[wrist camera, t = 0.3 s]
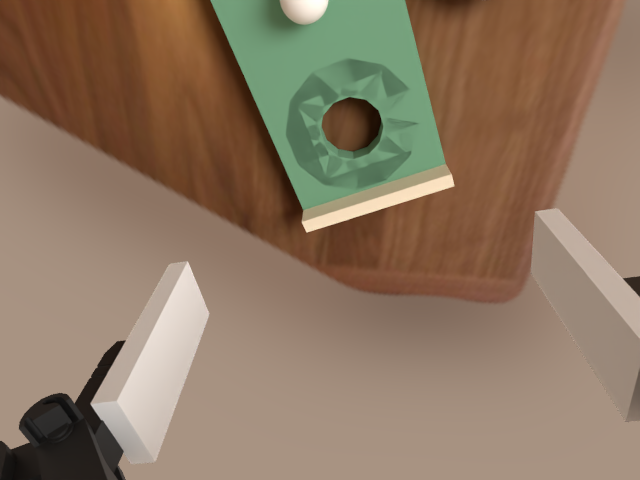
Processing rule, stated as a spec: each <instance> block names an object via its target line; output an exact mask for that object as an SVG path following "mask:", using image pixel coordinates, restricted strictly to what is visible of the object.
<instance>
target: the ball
mask: <svg viewBox="0 0 640 480" xmlns="http://www.w3.org/2000/svg"><path fill="white" fill-rule="evenodd" d="M280 4H281V8H282V10H283V12H284V13H285V15H286V16H287V17H288V18H289V19H290V20H291V21H293V22H295V23H297V24H302V25H307V24H311V23H314V22H316V21H317V20H319V19H320V18H321V17H322V16H323V14H324V13H325V11H326V9H327V6H328V0H280Z"/></svg>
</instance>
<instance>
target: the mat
mask: <svg viewBox="0 0 640 480" xmlns="http://www.w3.org/2000/svg"><path fill="white" fill-rule="evenodd" d="M211 3H212V5H213V7H214V9H215V12H216V14H217V16H218V18H219V21H220V23H221V25H222V27H223V30H224V32H225V34H226V36H227V39H228V41H229V43H230V46H231V48H232V50H233V52H234V55H235V57H236V59H237V61H238V64H239V66H240V68H241V70H242V73H243V75H244V77H245V79H246V82H247V84H248V86H249V88H250V91H251V93H252V95H253V97H254V100H255V102H256V104H257V106H258V109H259V111H260V113H261V115H262V118H263V120H264V122H265V124H266V127H267V129H268V131H269V134H270V136H271V138H272V140H273V143H274V145H275V147H276V149H277V152H278V154H279V156H280V158H281V161H282V163H283V165H284V167H285V170H286V172H287V174H288V176H289V179H290V181H291V183H292V185H293V188H294V190H295V192H296V194H297V197H298V199H299V201H300V203H301V206H302V208H303V217H302V224H303V226H304V228H305V230H306V232H310V231H313V230H316V229H319V228H322V227H326V226H329V225H332V224H335V223H338V222H342V221H345V220H348V219H351V218H354V217H357V216H361V215H364V214H367V213H370V212H373V211H377V210H380V209H383V208H386V207H389V206H392V205H396V204H399V203H402V202H405V201H408V200H412V199H415V198H418V197H421V196H424V195H427V194H431V193H434V192H437V191H440V190H443V189H447V188H450V187H453V186H454V182H453V178H452V174H451V172H450V171H449V169H448V167H447V165H446V163H445V159H444V155H443V151H442V147H441V143H440V139H439V135H438V131H437V127H436V123H435V119H434V115H433V111H432V107H431V103H430V99H429V95H428V91H427V87H426V83H425V79H424V75H423V71H422V67H421V63H420V59H419V55H418V51H417V47H416V43H415V39H414V35H413V31H412V27H411V23H410V19H409V15H408V11H407V7H406V3H405V0H328V6H327V9H326V11H325V13H324V14H323V16H322V17H321V18H320V19H319V20H317V21H316V22H314V23H311V24H307V25H302V24H297V23H295V22H293V21H291V20H290V19H289V18H288V17H287V16H286V15H285V13H284V12H283V10H282V8H281V4H280V0H211ZM348 97H353V98H359V99H365V100H367V101H368V102H369V103H371V104H372V105H373V106H374V107H375V108H376V109H377V110H378V111H379V113H380V116H381V120H382V121H381V125H380V129H379V133H378V136H377V137H376V138H375V139H374V140H373V141H372V142H371V143H370V145H369V146H368V147H365V148H362V149H359V150H356V151H354V152H352V151H346V150H340V149H337V148H336V147H335V146H334V145H332V144H331V143H330V142H329V141H327V140H326V137H325V135H324V132H323V129H322V127H321V124H322V118H323V115H324V114H325V113H326V112H327V110H328V109H329V108H330V107H331V105H332V104H333V103H335V102H337V101H340V100H343V99H345V98H348Z"/></svg>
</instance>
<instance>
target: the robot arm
mask: <svg viewBox="0 0 640 480" xmlns="http://www.w3.org/2000/svg"><path fill="white" fill-rule="evenodd" d="M531 275H532V276H533V278H534V279H535V281H536V282H537V284H538V286H539V287H540V289H541V290H542V291H543V293H544V295H545V297H546V298H547V300H548V301H549V303H550V304H551V306H552V307H553V309H554V311H555V312H556V314H557V315H558V317H559V318H560V320H561V322H562V323H563V325H564V326H565V328H566V329H567V331H568V332H569V334H570V336H571V337H572V338H573V340H574V342H575V343H576V345H577V347H578V348H579V350H580V351H581V353H582V354H583V356H584V358H585V359H586V361H587V362H588V364H589V365H590V367H591V368H592V370H593V371H594V373H595V375H596V376H597V378H598V379H599V381H600V383H601V384H602V386H603V387H604V389H605V390H606V392H607V393H608V395H609V396H610V398H611V400H612V401H613V403H614V404H615V406H616V408H617V409H618V411H619V412H620V414H621V415H622V417H623V418H624V420H625V422H629V421H640V276H639V277H631V278H622V277H621V276H620V275H619V274H618V273H617V272H616V271H615V270H614V269H613V268H612V267H611V265H610V264H609V263H608V262H607V261H606V260H605V259H604V258H603V257H602V256H601V255H600V254H599V253H598V251H597V250H596V249H595V248H594V247H593V246H592V245H591V244H590V243H589V242H588V241H587V240H586V239H585V237H584V236H583V235H582V234H581V233H580V232H579V231H578V230H577V229H576V228H575V227H574V226H573V224H572V223H571V222H570V221H569V220H568V219H567V218H566V217H565V216H564V215H563V214H562V213H561V211H560V210H559V209H558V208H556V209H549V210H542V211H535V221H534V235H533V249H532V264H531ZM208 317H209V312H208V310H207V307H206V305H205V302H204V300H203V297H202V295H201V292H200V290H199V288H198V285H197V283H196V280H195V278H194V275H193V273H192V270H191V268H190V266H189V263H188V261H186V262H179V263H173V264H169V266H168V268H167V269H166V271H165V273H164V274H163V276H162V278H161V280H160V282H159V283H158V285H157V287H156V289H155V290H154V292H153V294H152V296H151V298H150V299H149V301H148V303H147V304H146V306H145V308H144V310H143V312H142V314H141V315H140V317H139V319H138V321H137V322H136V324H135V326H134V327H133V329H132V331H131V333H130V334H129V336H128V338H127V340H125V341H117V342H116V343H115V344H114V345H113V346H112V347H111V348H110V349H109V350H108V351H107V352H106V353H105V354H104V356H103V357H102V359H101V361H100V362H99V364H98V368H96V369H95V371H94V372H93V374H92V376H91V378H90V379H89V380H88V382H87V384H86V385H85V387H84V389H83V390H82V392H81V394H80V395H79V397H78V399H77V400H76V402H75V404H74V403H73V401H72V400H71V398H70V397H69V396H68V395H67V394H63V393H58V394H53V395H50V396H48V397H45V398H43V399H41V400H40V401H38V402H37V403H36V404H34V405H33V406H32V407H31V408H30V409H29V410H28V411H27V412H26V413H25V414H24V416H23V417H22V419H21V421H20V425H19V429H20V431H21V432H22V433H23V434H24V435H25V437H26V438H27V439H28V440H29V441H30V443H27V444H25V445H22V446H19V447H17V448H14V449H11V450H10V449H9V447H8V446H7V445H6V444H5V443H3V442H2V441H0V480H126V479H125V477H124V475H123V472H122V470H121V469H120V468H119V466H118V463H119V461H120V459H121V457H122V454H123V453H124V454H125V456H126V457H127V459H128V460H129V462H130V463H131V464H140V463H151V462H155V461H156V459H157V456H158V453H159V450H160V448H161V445H162V442H163V440H164V437H165V434H166V431H167V428H168V426H169V423H170V420H171V418H172V415H173V412H174V410H175V407H176V404H177V401H178V398H179V396H180V393H181V391H182V388H183V385H184V382H185V380H186V377H187V374H188V371H189V369H190V366H191V363H192V361H193V358H194V355H195V352H196V350H197V347H198V344H199V341H200V339H201V336H202V333H203V330H204V328H205V325H206V322H207V320H208Z"/></svg>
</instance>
